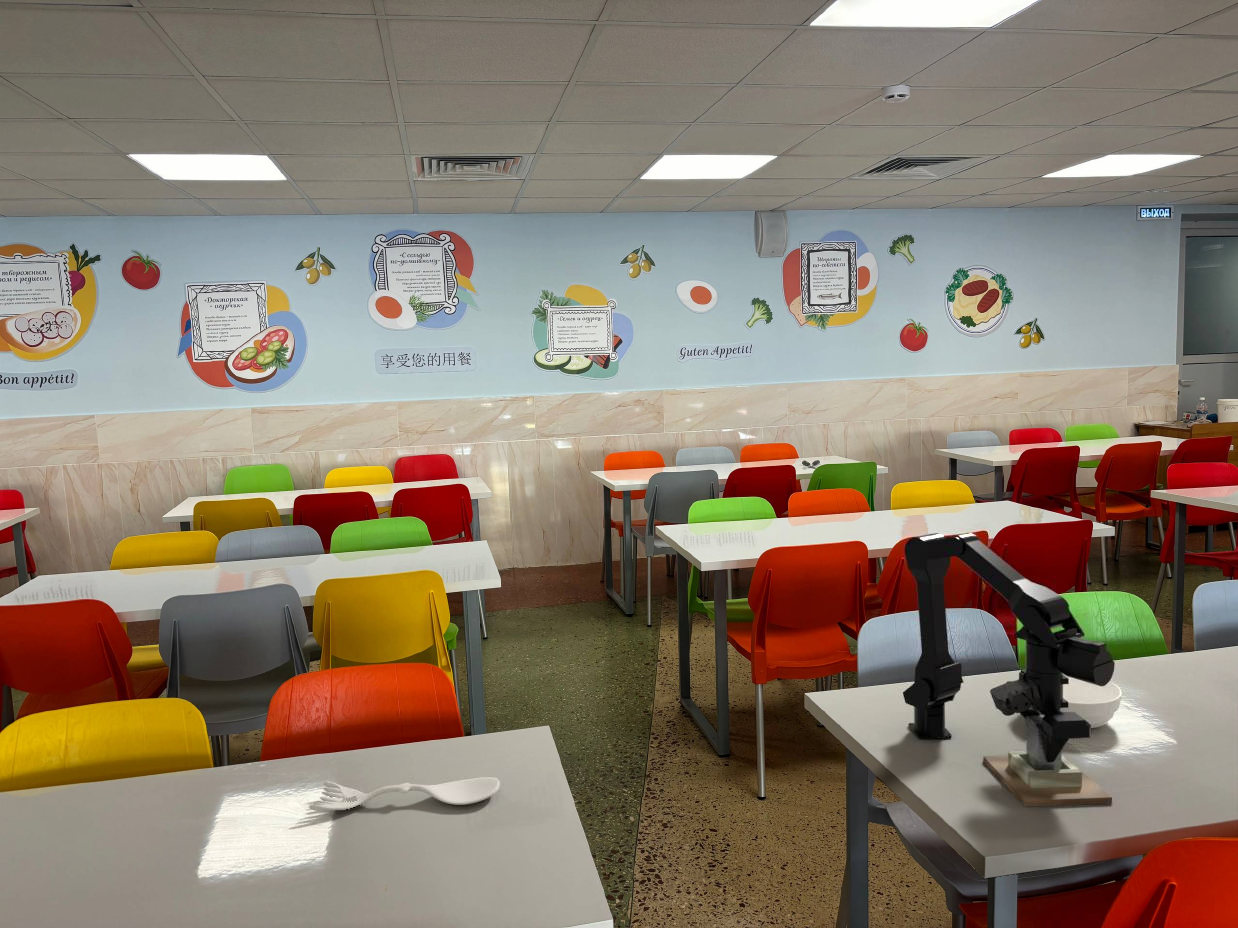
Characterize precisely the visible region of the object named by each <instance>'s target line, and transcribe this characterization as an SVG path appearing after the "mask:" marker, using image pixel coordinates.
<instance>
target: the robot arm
mask: <svg viewBox="0 0 1238 928" xmlns="http://www.w3.org/2000/svg"><path fill="white" fill-rule="evenodd" d="M903 549H904V550H903V552H904V557H905V560H906V562H905V563H906V566H907V569H908V570H909V572H910V574H911V575H912V577H913V578H914V580H915V581H916V582H915V583H916V593H917V606H918V607H917V609H918V620H919V621H918V622H919V633H920V634H919V635H920V646H921V648H920V649H921V654H920V655H919V656H920V657H919V659H918V661H917V663H916V666H915V669H914V680H913V681H914V682H913V684H911V685H910V686H909V687H908V688H906V689H905V690H904V691H903V692H902V694H903V699H904V702H905V704H907V705H909V706H912V707H913V713H914V714H913V722H909V723H907V724H908V725H907V726H908V728H909V729H910V730H911V731H912V732H913V734H914V735H915V736H916V738H918V739H919V740H928V739H929V740H930V739H948V738H949V739H951V738H952V737H953V735H952V734H951V732H950V731H949V730H948V729H947V728H946V704H945V703H948V702H953V701H954V699H955V696H956V695H957V693H959V692H960V690H961V688H962V684H963V683H964V679H963V676H962V671H963V670H962V668H963V665H962V663H961V662H956V661H955V660H954V659H953V658H952V656H951V654H950V652H949V642H948V641H949V639H948V625H947V624H948V623H947V613H946V612H947V611H946V610H947V609H946V599H945V597H946V596H945V584H944V581H945V578H946V575H947V573H948V570H949V568H950V566H951V558H953V557H956V558H958V559H959V560H960V561H961V562H963V564H965V565H966V566H967V567H969V568H970V570H971V571H973V572H974V573H975V574H977V575H978V576H979V577H980V578H981V579H982V580H983V581H985V583H987V584H989V586H990V587H991V588H993V589H994V590H995V591H996V592H997V593H999V594H1000V595H1001V596H1002V597H1003V598H1004V599H1005V600H1006V601H1007V603H1008V605H1009V608H1010V610H1011V612H1012V614H1013V616H1015V618H1016V619H1017V620H1018V621H1019V622H1020V623H1021V624H1022V626H1021V628H1020V629H1019V630H1017V631H1016V632H1014V633H1013V637H1014V638H1016V639H1019V640H1023V641H1025V669H1020V672H1018V679H1016V680H1009V681H1006V683H1002V684H1000V685H998V686H995V687H993V688H991V689H990V690H989V693H990V695H991V698H992V700H993V703H994V706H995V708H996V709H997V710H999V711H1000V712H1001V714H1003V715H1004V716H1008V717H1009V716H1013V715H1015V714H1020V716H1022V718H1023V719H1024V722H1025V725H1026V726H1027V716H1029V715H1042V716H1043V718H1042V724H1035V726H1036V727H1037V728H1038V729H1039V730H1040V731H1041V732H1042V733H1043V740H1044V748H1045V755H1046V760H1047V762H1054V761H1055V759H1056V758H1057V756H1058V755H1059V753H1060V751H1061V750H1063V748H1064V747H1065V745H1066V744H1067V742H1068V741H1069V740H1071V739H1072V740H1073V739H1074V740H1075V739H1090V738H1091V737H1092V728H1091V725H1090V724H1089V723H1088V722H1087V721H1086V720H1085V719H1083V718H1082V717H1081V716H1079V715H1078V714H1076V713H1075V712H1061V711H1060V708H1068V701H1066V700H1065V699H1064V698H1063V684H1069V678H1067V677H1066V676H1068V677H1071V678H1075V679H1078V680H1081V681H1085V682H1088V683H1091V684H1095V685H1098V686H1105V685H1106V684H1108V682H1109V681H1110V682H1111V679H1112V678H1113V675H1114V671H1115V660H1114V658H1113V656H1112V654H1111V653H1110V651H1108V650H1107V643H1105V642H1102V641H1098V640H1097V641H1094V640H1089V639H1087V638H1083V637H1085V635H1086V634H1085V632H1084V631H1083V629H1082V627H1081V626H1080V624H1079V622H1077V620H1076V618H1075V616H1074V615H1073V614H1072V612H1071V610H1070V604H1069V602H1068V601H1067V599H1065V598H1064V597H1063V596H1062V595H1060V594H1058V593H1056V592H1055V591H1053V590H1052V589H1050V588H1048V587H1046V586H1044V585H1040V584H1037V583H1036V582H1032V581H1031V580H1029V579H1027V578H1025V576H1023V575H1022V574H1021V573H1019V572H1018V571H1017V570H1016V569H1014V568H1013V567H1012V566H1011V565H1010V564H1009V563H1007V562H1006V561H1004V560H1003V559H1002V558H1001V557H1000V556H998V555H997V554H996V553H995V552H994V551H993V550H992V549H990V548H989V547H988V546H987V545H985V544H984V543H983V542H981V541H980V539H979V537H978V536H977V535H976V534H974V533H972V532H971V533H970V532H965V533H961V534H960V533H959V534H955V535H951V536H950V535H949V536H945V535H943V534H942V533H938V532H934V533H929V534H923V535H918V536H913V537H911V538H909V539H908V540H907V542H905V544H904V548H903ZM1057 628H1063V629H1062V630H1057V631H1054V632H1053V631H1052V630H1054V629H1057ZM1063 674H1064V675H1066V676H1064V675H1063Z"/></svg>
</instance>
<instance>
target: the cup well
mask: <svg viewBox="0 0 1238 928" xmlns="http://www.w3.org/2000/svg"><path fill="white" fill-rule="evenodd" d="M982 758H983V759H982V761H983V763H984V764H985V765H986V767H988V768H989V769H990V770H991V771H992V772H993V773H994V774H995V776H996V777H997V778H998V779H999V780H1000V781H1001V782H1002V783H1003V784H1004V785H1005V787H1006V788H1008V790H1010V792H1011V793H1012V794H1013V795H1014V796H1015V797H1016V798H1017V800H1019V801H1020V802H1021V803H1022V805H1023V806H1024V807H1026V808H1027V807H1045V806H1046V807H1048V806H1049V807H1051V806H1052V807H1053V806H1071V805H1072V806H1075V805H1076V806H1077V805H1097V804H1113V796H1112V795H1110V794H1109V793H1108V792H1107V791H1105V789H1103V788H1102V787H1101V786H1100V785H1099V784H1097V783H1096V782H1095V781H1094V780H1093V779H1091V778H1090V777H1089V775H1087V774H1086V773H1085V772H1083V771H1082V770H1081V769H1080V768H1079V767H1078V766H1077V765H1075V764H1074V763H1073V762H1072V761H1071V760H1069V758H1067V757H1066V756H1065V755H1064V754H1062V768H1061V770H1037V771H1035V770H1034V769H1033V768H1032V767H1031V766H1030V765H1029V764H1028V763H1027V762H1026V750H1018V751H1017V750H1015V751H1008V753H1007V754H1005V755H1004V754H1003V755H1002V754H1001V755H983V756H982Z"/></svg>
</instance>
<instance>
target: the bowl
mask: <svg viewBox="0 0 1238 928" xmlns="http://www.w3.org/2000/svg"><path fill="white" fill-rule="evenodd" d="M1063 675H1064V674H1063ZM1064 676H1066V675H1064ZM1066 677H1067V678H1069V684H1063V698H1064V699H1065V700H1066V701H1068V708H1060V711H1061V712H1075V713H1076V714H1078V715H1079V716H1081V717H1082V718H1083V719H1085V720H1086V721H1087V722H1088V723H1089V724H1090V725H1091V729H1095V728H1099V727H1100V728H1101V727H1102V726H1104V725H1105V724H1107V723H1108V722H1109V721H1110V720H1112V718H1113V717H1114V715H1115V713H1116V712H1117V711H1118V710H1119V708H1120V706H1121V705H1120V704H1121V700H1122V697H1123V692H1122V690H1121V688H1120V686H1118V685H1116V684H1115V683H1114V682H1112V681H1111V680H1110V681H1109V682H1108V684H1106V685H1105V686H1098V685H1095V684H1091V683H1088V682H1085V681H1081V680H1078V679H1075V678H1071V677H1068V676H1066Z"/></svg>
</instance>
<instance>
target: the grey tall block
mask: <svg viewBox="0 0 1238 928" xmlns="http://www.w3.org/2000/svg"><path fill="white" fill-rule="evenodd" d="M1042 718H1043V716H1042V715H1029V716H1027V725H1026V730H1025V731H1026V734H1025V737H1026V738H1025V739H1026V745H1025V746H1026V749H1025V751H1026V762H1027V763H1028V764H1029V765H1030V766H1031V767H1032V768H1033V769H1034V770H1035V771H1037V770H1061V768H1062V755H1063V754H1062V753H1063V751H1062V750H1063V749H1062V750H1061V751H1060V753H1059V755H1058V756H1057V758H1056V759H1055V761H1054V762H1047V760H1046V755H1045V748H1044V740H1043V733H1042V732H1041V731H1040V730H1039V729H1038V728H1037V727H1036V726H1035V724H1042Z"/></svg>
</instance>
